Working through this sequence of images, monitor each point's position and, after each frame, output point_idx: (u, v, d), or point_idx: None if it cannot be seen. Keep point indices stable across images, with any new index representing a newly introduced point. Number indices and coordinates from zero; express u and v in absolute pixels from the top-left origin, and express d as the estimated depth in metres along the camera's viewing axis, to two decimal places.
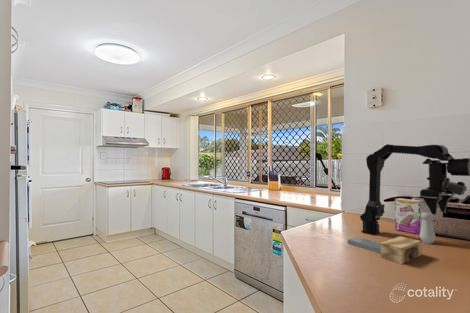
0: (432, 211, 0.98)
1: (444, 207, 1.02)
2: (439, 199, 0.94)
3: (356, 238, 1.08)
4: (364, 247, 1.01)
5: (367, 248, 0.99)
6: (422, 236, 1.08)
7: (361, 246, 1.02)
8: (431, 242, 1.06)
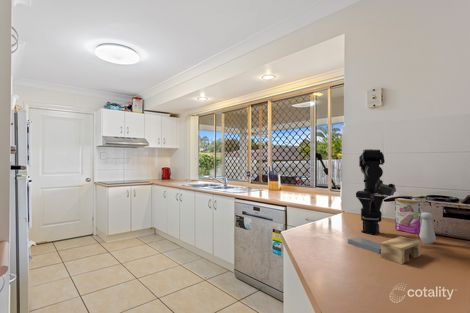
0: (366, 211, 1.06)
1: (379, 207, 1.11)
2: (371, 200, 1.02)
3: (357, 238, 1.08)
4: (363, 247, 1.01)
5: (366, 248, 1.00)
6: (422, 236, 1.08)
7: (361, 246, 1.02)
8: (431, 242, 1.06)
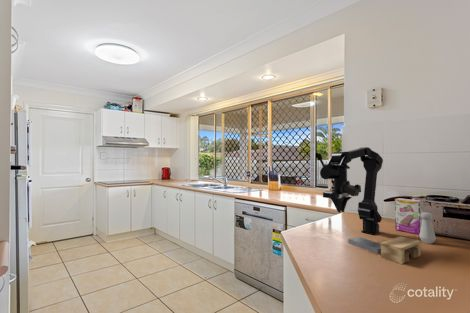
0: (337, 209, 1.13)
1: (343, 207, 1.14)
2: (340, 199, 1.09)
3: (358, 238, 1.09)
4: (363, 247, 1.01)
5: (365, 248, 1.00)
6: (422, 236, 1.08)
7: (360, 246, 1.02)
8: (431, 242, 1.06)
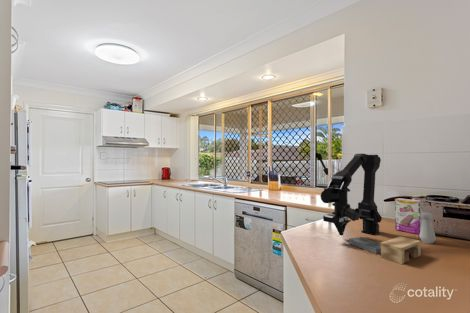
0: (339, 232, 1.13)
1: None
2: (342, 223, 1.10)
3: (359, 238, 1.09)
4: (362, 246, 1.01)
5: (365, 248, 1.00)
6: (422, 236, 1.08)
7: (360, 245, 1.02)
8: (431, 242, 1.06)
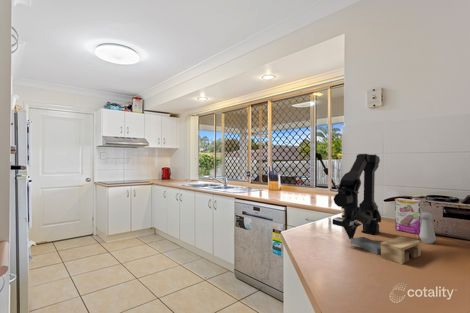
0: (349, 236, 1.09)
1: None
2: (352, 226, 1.05)
3: (361, 238, 1.08)
4: (364, 246, 1.01)
5: (366, 247, 0.99)
6: (422, 236, 1.08)
7: (361, 245, 1.02)
8: (431, 242, 1.06)
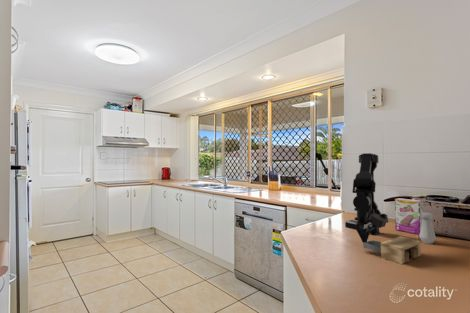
0: (362, 240, 1.04)
1: None
2: (366, 230, 1.00)
3: (372, 241, 1.04)
4: None
5: None
6: (422, 236, 1.08)
7: (378, 250, 0.97)
8: (431, 242, 1.06)
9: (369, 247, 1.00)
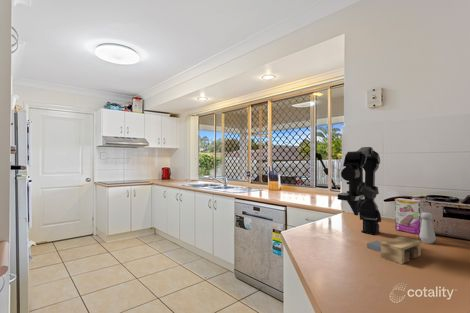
0: (354, 212, 1.07)
1: None
2: (358, 201, 1.04)
3: (376, 242, 1.03)
4: None
5: None
6: (422, 236, 1.08)
7: None
8: (431, 242, 1.06)
9: (372, 248, 1.00)
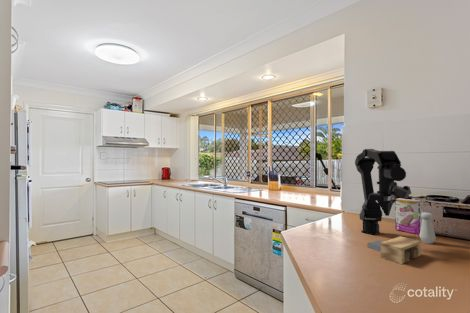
0: (385, 212, 1.06)
1: None
2: (390, 201, 1.02)
3: (377, 242, 1.03)
4: None
5: None
6: (422, 236, 1.08)
7: None
8: (431, 242, 1.06)
9: (372, 247, 1.00)
